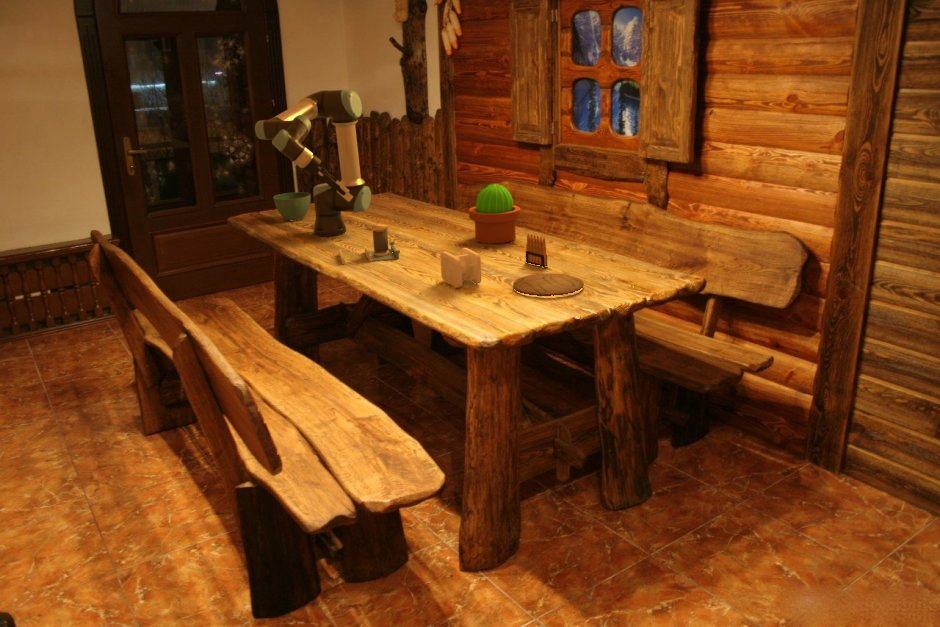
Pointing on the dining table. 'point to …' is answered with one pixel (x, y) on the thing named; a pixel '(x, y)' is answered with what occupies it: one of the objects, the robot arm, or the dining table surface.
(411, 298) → the dining table surface
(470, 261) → the cable organizer
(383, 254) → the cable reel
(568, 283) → the trivet
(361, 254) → the dining table surface
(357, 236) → the dining table surface
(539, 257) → the ammunition clip
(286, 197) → the green rounded bowl
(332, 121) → the robot arm
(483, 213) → the potted cactus
